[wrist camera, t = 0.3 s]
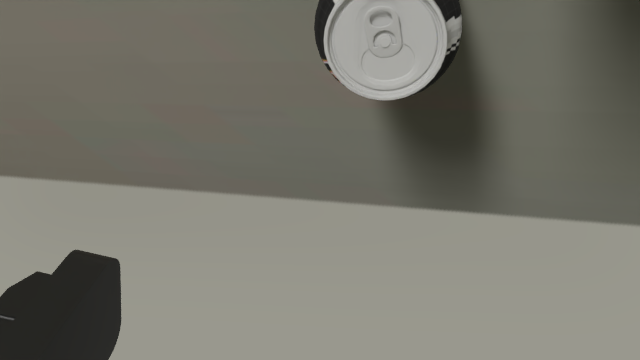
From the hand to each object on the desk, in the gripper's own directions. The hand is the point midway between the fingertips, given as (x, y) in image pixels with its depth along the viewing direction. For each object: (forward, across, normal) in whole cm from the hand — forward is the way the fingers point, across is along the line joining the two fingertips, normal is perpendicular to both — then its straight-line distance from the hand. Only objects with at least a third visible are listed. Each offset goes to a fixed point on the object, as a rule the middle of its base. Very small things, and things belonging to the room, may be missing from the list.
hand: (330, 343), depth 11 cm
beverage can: (+26, 0, -1) cm, 26 cm away
